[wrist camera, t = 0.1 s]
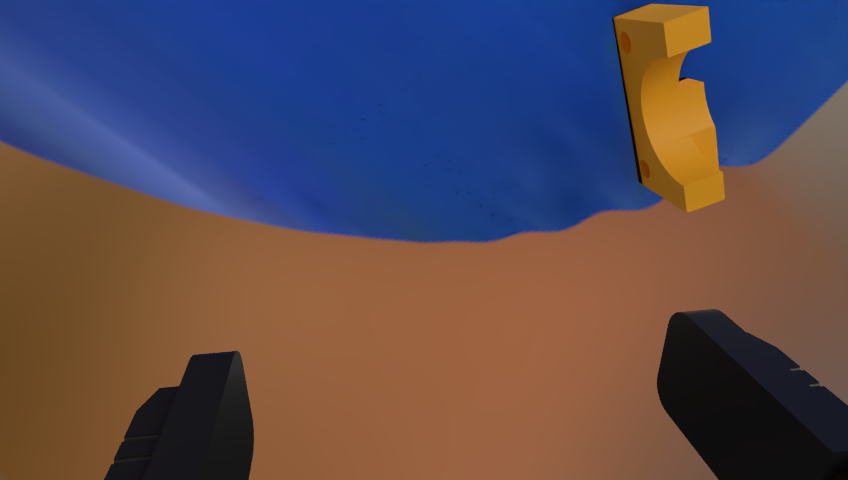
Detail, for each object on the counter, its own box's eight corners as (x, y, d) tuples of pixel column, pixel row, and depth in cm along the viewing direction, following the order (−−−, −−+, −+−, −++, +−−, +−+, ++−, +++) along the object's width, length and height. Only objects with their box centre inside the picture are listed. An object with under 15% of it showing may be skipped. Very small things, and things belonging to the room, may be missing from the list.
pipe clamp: (692, 161, 41) (750, 189, 36) (637, 181, 41) (686, 213, 36) (673, -6, 36) (738, -5, 30) (610, 17, 36) (663, 23, 30)
